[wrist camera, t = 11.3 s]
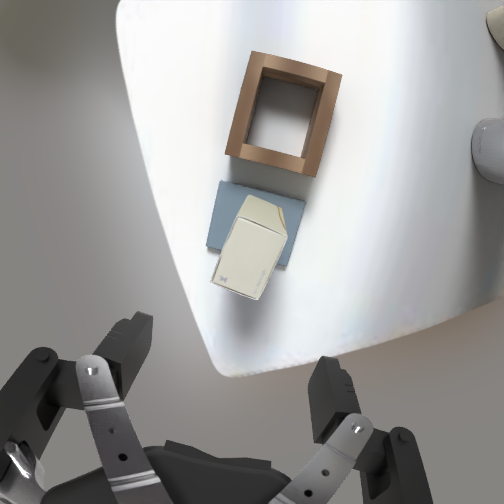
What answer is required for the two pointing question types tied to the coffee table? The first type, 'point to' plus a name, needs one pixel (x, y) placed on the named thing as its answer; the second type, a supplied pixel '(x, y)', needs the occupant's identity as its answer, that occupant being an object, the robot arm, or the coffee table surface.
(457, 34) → the coffee table surface
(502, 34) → the travel mug
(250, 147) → the pocket block
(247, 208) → the skincare box
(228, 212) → the pad
